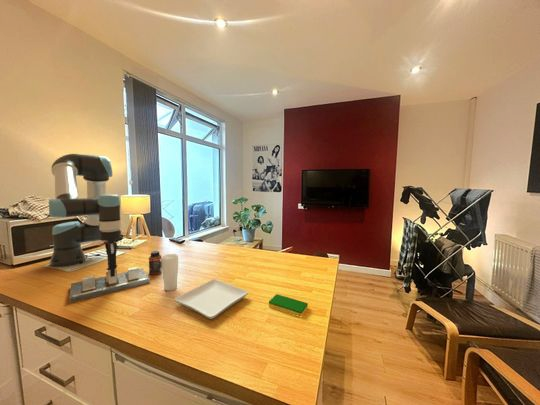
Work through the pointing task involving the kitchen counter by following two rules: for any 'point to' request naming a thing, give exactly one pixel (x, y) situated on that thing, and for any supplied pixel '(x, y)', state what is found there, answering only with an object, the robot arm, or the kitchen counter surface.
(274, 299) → the dish sponge
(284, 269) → the kitchen counter surface
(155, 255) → the supplement bottle
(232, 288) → the salad plate
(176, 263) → the white tumbler
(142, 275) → the panel
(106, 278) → the toggle
